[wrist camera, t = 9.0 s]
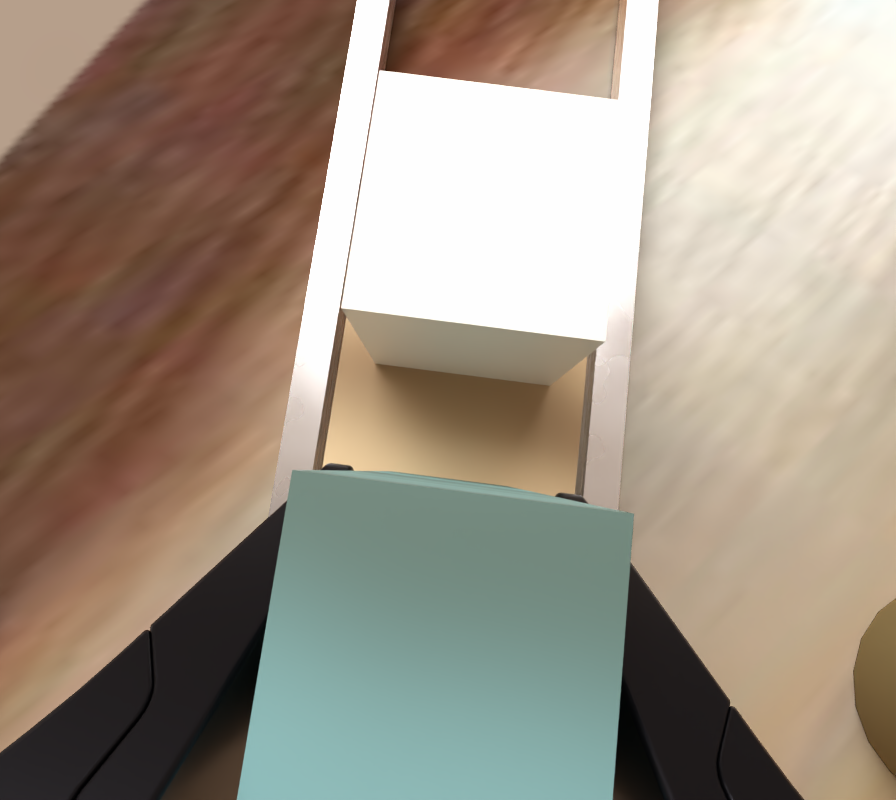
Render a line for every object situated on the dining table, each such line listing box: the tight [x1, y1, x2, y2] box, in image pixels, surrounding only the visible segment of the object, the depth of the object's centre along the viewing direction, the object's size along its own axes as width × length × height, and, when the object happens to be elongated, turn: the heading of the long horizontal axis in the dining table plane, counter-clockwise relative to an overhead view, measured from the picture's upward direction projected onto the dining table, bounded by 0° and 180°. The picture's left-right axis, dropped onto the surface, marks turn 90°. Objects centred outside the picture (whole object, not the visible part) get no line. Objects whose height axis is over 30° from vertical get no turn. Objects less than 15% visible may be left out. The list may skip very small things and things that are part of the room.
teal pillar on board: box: [237, 317, 634, 800], centre depth 10 cm, size 15×7×11 cm, turn 173°
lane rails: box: [268, 0, 659, 517], centre depth 16 cm, size 27×10×1 cm, turn 173°
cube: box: [341, 70, 626, 386], centre depth 12 cm, size 5×5×5 cm
